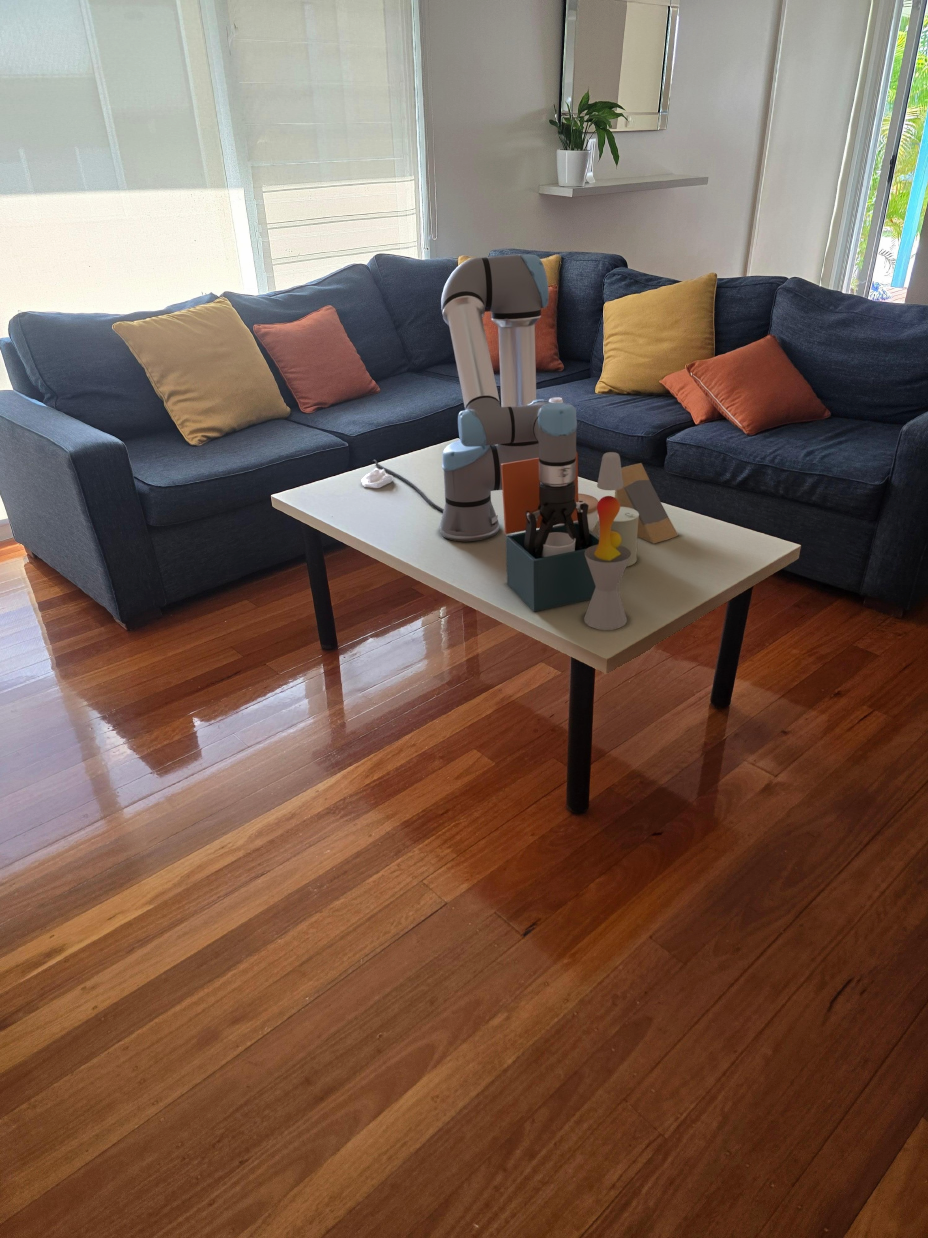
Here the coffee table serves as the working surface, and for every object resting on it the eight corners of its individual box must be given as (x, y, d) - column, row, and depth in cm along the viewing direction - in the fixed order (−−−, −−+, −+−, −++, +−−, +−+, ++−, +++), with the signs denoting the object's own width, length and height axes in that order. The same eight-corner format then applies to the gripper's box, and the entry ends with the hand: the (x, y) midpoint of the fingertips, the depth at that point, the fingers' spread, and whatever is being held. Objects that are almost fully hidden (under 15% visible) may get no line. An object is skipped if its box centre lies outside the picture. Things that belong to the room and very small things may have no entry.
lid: (577, 451, 180) (575, 451, 180) (502, 464, 175) (500, 463, 175) (579, 520, 186) (577, 519, 187) (506, 534, 181) (504, 533, 182)
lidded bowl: (562, 550, 202) (563, 507, 196) (538, 532, 212) (538, 491, 207) (607, 539, 206) (609, 497, 201) (581, 522, 216) (582, 482, 211)
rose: (393, 473, 245) (360, 475, 244) (394, 487, 247) (361, 490, 246) (391, 462, 253) (360, 465, 253) (393, 476, 256) (361, 479, 255)
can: (627, 570, 190) (630, 521, 184) (590, 563, 195) (591, 515, 189) (642, 555, 197) (645, 507, 191) (606, 548, 201) (608, 501, 195)
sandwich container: (653, 544, 202) (657, 485, 195) (612, 525, 214) (614, 468, 207) (679, 535, 206) (684, 477, 199) (638, 517, 218) (641, 461, 210)
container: (608, 595, 180) (610, 545, 174) (534, 612, 175) (533, 561, 169) (577, 569, 192) (578, 521, 186) (507, 584, 187) (505, 535, 181)
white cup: (550, 570, 187) (550, 529, 183) (581, 578, 183) (582, 536, 178) (532, 584, 182) (531, 542, 177) (563, 592, 178) (563, 549, 173)
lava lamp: (611, 634, 165) (618, 464, 148) (574, 621, 171) (576, 456, 154) (636, 617, 171) (645, 451, 154) (599, 605, 176) (604, 443, 159)
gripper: (518, 494, 165) (520, 596, 176) (610, 478, 171) (606, 578, 182) (504, 483, 172) (507, 582, 183) (592, 467, 177) (590, 565, 188)
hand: (556, 580), depth 182 cm, fingers closed on white cup, 8 cm apart
